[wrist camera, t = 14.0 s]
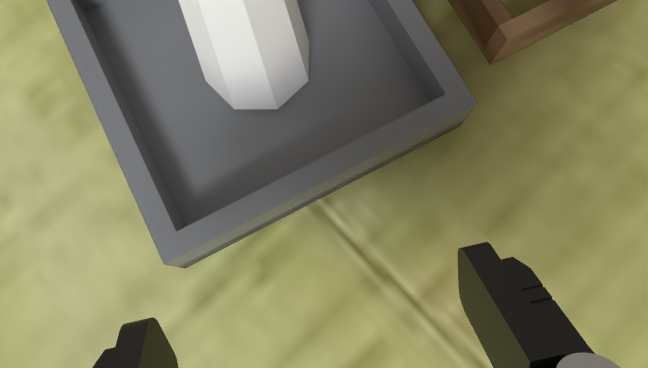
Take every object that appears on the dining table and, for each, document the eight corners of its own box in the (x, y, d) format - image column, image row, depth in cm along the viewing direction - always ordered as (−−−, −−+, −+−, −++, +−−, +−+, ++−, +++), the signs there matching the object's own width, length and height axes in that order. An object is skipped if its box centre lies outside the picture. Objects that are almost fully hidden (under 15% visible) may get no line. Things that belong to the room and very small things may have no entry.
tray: (320, -99, 27) (318, -146, 24) (459, 125, 24) (477, 102, 21) (70, 15, 26) (37, -20, 23) (185, 268, 23) (163, 264, 20)
